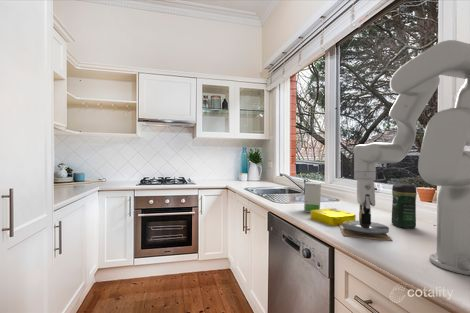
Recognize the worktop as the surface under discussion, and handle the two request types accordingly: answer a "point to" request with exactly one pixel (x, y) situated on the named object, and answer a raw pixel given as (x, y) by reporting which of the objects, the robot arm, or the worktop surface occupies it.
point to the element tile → (332, 216)
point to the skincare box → (312, 196)
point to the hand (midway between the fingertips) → (364, 222)
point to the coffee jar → (404, 205)
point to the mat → (364, 234)
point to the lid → (365, 227)
